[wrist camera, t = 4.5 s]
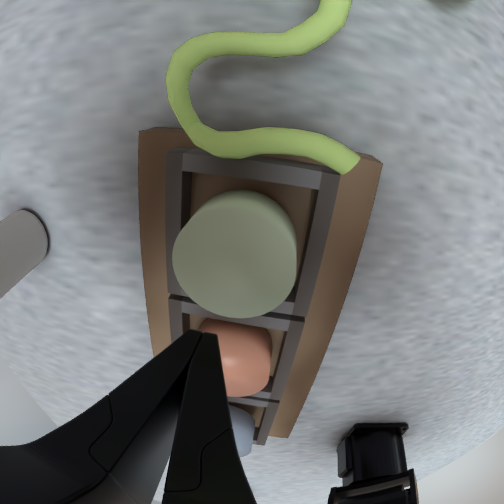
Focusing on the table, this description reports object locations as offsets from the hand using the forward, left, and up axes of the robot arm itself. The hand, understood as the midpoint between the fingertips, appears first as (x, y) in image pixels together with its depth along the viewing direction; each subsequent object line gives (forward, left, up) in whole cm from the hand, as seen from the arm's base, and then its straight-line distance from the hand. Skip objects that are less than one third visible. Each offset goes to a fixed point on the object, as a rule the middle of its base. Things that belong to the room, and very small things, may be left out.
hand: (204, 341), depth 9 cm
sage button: (0, 0, -7) cm, 7 cm away
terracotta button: (0, +8, -8) cm, 11 cm away
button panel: (0, +8, -10) cm, 13 cm away
